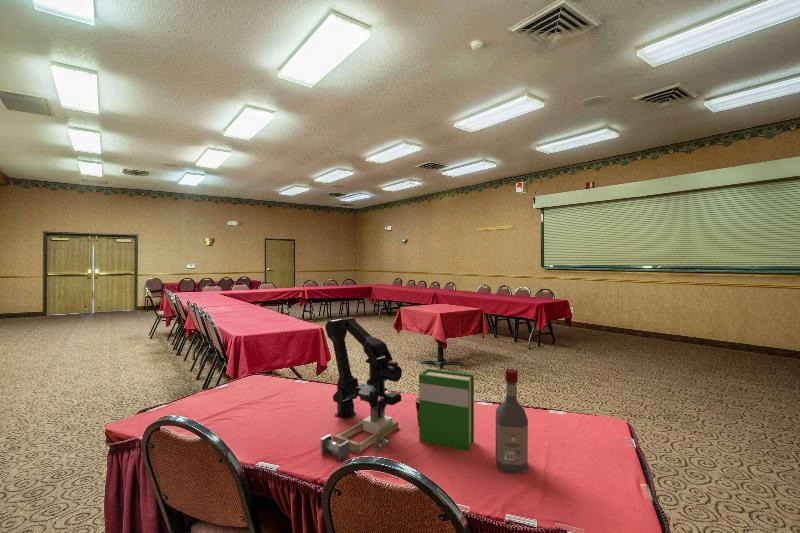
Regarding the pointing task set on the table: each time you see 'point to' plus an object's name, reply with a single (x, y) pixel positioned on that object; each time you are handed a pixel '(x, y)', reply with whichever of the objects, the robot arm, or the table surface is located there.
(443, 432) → the hardback book
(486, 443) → the table surface
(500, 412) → the liquor
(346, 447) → the winch
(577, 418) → the table surface
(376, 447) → the crank handle
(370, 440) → the bay
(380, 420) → the two-tone stepped block
